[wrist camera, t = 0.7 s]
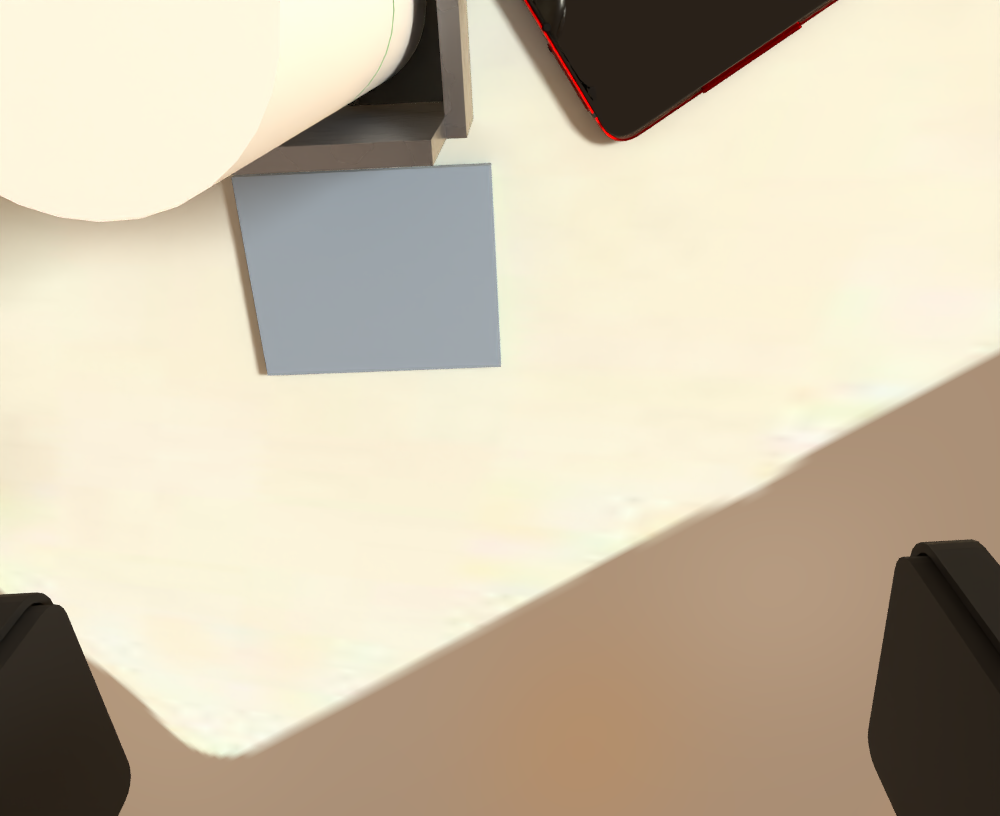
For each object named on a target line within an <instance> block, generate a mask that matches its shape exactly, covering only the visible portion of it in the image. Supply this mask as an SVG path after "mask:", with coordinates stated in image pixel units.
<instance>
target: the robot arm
mask: <svg viewBox="0 0 1000 816" xmlns="http://www.w3.org/2000/svg"><path fill="white" fill-rule="evenodd" d="M868 743H869V749H870V754H871V758H872V761H873V764H874V767H875V769H876V771H877V774H878V776H879V778H880V780H881V782H882V785H883V787H884V789H885V791H886V793H887V796H888V798H889V800H890V802H891V804H892V806H893V809H894V811H895V813H896V815H897V816H1000V565H999V564H998V563H997V562H996V560H995V559H994V558H993V557H992V556H991V555H990V553H989V552H988V551H987V550H986V548H985V547H984V546H983V545H981V544H980V543H979V542H978V541H975V540H972V539H971V540H954V541H938V542H937V541H936V542H921V543H918V544H916V545H915V547H914V548H913V549H912V553H911V556H910V557H901V558H899V560H898V561H897V563H896V567H895V571H894V577H893V584H892V590H891V596H890V602H889V608H888V614H887V620H886V626H885V632H884V639H883V644H882V651H881V656H880V662H879V669H878V674H877V680H876V686H875V692H874V699H873V705H872V711H871V717H870V723H869V729H868ZM130 779H131V774H130V766H129V763H128V760H127V758H126V755H125V753H124V750H123V748H122V746H121V743H120V741H119V739H118V736H117V734H116V731H115V729H114V726H113V724H112V722H111V719H110V717H109V714H108V712H107V709H106V707H105V705H104V702H103V700H102V697H101V695H100V693H99V690H98V688H97V685H96V683H95V680H94V678H93V676H92V673H91V671H90V668H89V666H88V664H87V661H86V659H85V656H84V654H83V651H82V649H81V647H80V644H79V642H78V639H77V637H76V635H75V632H74V630H73V627H72V625H71V622H70V620H69V618H68V615H67V613H66V612H65V610H64V608H62V607H61V606H60V605H55V604H53V603H52V601H51V599H50V598H49V597H48V596H46V595H45V594H43V593H20V594H3V595H0V816H118V815H119V812H120V810H121V808H122V806H123V804H124V802H125V800H126V797H127V794H128V791H129V787H130Z"/></svg>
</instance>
